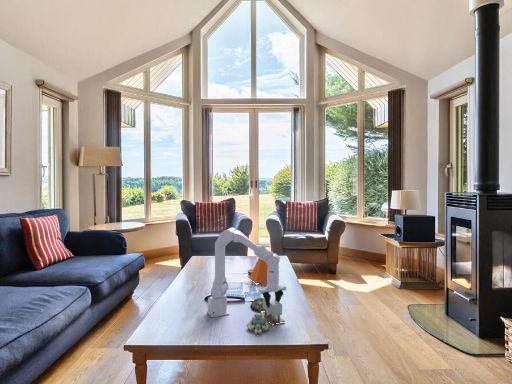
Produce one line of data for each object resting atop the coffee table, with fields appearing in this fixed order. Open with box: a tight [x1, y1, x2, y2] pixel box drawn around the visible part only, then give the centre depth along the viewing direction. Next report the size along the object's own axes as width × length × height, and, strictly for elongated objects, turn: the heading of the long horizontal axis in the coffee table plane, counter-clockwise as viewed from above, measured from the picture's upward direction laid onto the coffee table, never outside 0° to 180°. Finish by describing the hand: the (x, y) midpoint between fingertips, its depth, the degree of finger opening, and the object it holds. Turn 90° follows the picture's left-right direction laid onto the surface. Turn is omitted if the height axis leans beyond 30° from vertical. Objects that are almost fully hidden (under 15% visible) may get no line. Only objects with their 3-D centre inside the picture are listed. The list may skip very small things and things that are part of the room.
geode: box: [250, 297, 265, 313], centre depth 179 cm, size 19×4×15 cm
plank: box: [262, 296, 283, 316], centre depth 162 cm, size 4×12×5 cm, turn 25°
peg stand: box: [259, 310, 286, 325], centre depth 162 cm, size 7×13×4 cm, turn 25°
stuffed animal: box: [246, 313, 271, 334], centre depth 151 cm, size 11×7×12 cm
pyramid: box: [248, 257, 268, 285], centre depth 224 cm, size 16×16×20 cm
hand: (272, 306), depth 162 cm, fingers closed on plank, 4 cm apart
